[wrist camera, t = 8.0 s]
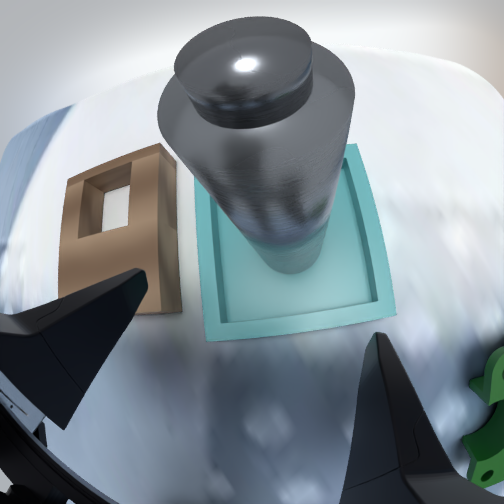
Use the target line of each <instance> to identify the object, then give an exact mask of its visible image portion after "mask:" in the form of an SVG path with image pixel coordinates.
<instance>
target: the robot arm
mask: <svg viewBox="0 0 504 504" xmlns="http://www.w3.org/2000/svg"><path fill="white" fill-rule="evenodd" d="M147 291H148V281H147V276H146V272H145V271H144V270H143V269H140V268H133V269H131V270H128V271H126V272H123V273H121V274H118V275H115V276H113V277H110V278H108V279H105V280H103V281H100V282H98V283H95V284H93V285H91V286H88V287H86V288H83V289H81V290H78V291H76V292H73V293H71V294H69V295H66V296H65V297H61V298H59V299H57V300H54V301H52V302H49V303H47V304H44V305H41V306H38V307H35V308H32V309H29V310H26V311H23V312H20V313H17V314H12V315H8V314H2V313H0V468H1V470H2V471H3V472H4V473H5V475H6V476H7V477H8V478H9V479H10V481H11V482H12V483H13V485H11V486H10V487H9V489H8V491H7V492H6V493H3V492H1V491H0V504H66V502H67V501H68V499H70V500H71V501H73V502H74V503H75V504H119V503H117V502H116V501H114V500H113V499H111V498H109V497H108V496H106V495H105V494H103V493H102V492H100V491H99V490H98V489H96V488H95V487H93V486H92V485H91V484H89V483H88V482H87V481H85V480H84V479H83V478H81V477H80V476H79V475H77V474H76V473H75V472H74V471H72V470H71V469H70V468H69V467H68V466H66V465H65V464H64V463H63V462H62V461H60V460H59V459H58V458H57V457H56V456H55V455H54V454H53V453H52V452H50V451H49V450H48V449H47V441H46V433H45V424H44V423H43V422H42V421H43V419H44V418H45V417H46V416H47V417H48V418H49V419H50V420H51V421H53V422H54V423H55V424H56V425H57V426H59V427H60V428H61V429H62V430H65V428H66V427H67V425H68V423H69V421H70V419H71V418H72V416H73V414H74V412H75V410H76V409H77V407H78V405H79V403H80V402H81V400H82V398H83V397H84V395H85V393H86V391H87V390H88V388H89V386H90V385H91V383H92V381H93V380H94V378H95V376H96V375H97V373H98V371H99V370H100V368H101V367H102V365H103V363H104V362H105V360H106V359H107V357H108V355H109V354H110V352H111V351H112V349H113V348H114V346H115V344H116V343H117V341H118V340H119V338H120V337H121V335H122V334H123V332H124V331H125V329H126V328H127V326H128V325H129V323H130V322H131V320H132V318H133V317H134V315H135V313H136V311H137V309H138V307H139V305H140V304H141V302H142V300H143V298H144V296H145V294H146V293H147ZM423 409H424V408H423V406H422V404H421V402H420V400H419V398H418V395H417V393H416V391H415V389H414V387H413V385H412V383H411V381H410V379H409V377H408V375H407V373H406V371H405V369H404V367H403V365H402V363H401V361H400V359H399V357H398V355H397V353H396V351H395V349H394V347H393V346H392V344H391V342H390V340H389V338H388V336H387V335H386V334H385V333H381V332H375V333H374V334H373V336H372V338H371V340H370V341H369V343H368V345H367V347H366V350H365V355H364V361H363V367H362V372H361V377H360V382H359V388H358V396H357V405H356V414H355V422H354V430H353V437H352V443H351V450H350V455H349V461H348V466H347V472H346V477H345V481H344V486H343V491H342V494H341V498H340V502H339V504H504V497H501V496H497V495H495V494H493V493H491V492H489V491H487V490H485V489H483V488H481V487H479V486H478V485H476V484H474V483H472V482H470V481H469V480H467V479H465V478H463V477H462V476H461V475H459V474H458V473H457V471H456V470H455V469H454V467H453V466H452V464H451V462H450V460H449V458H448V456H447V454H446V453H445V451H444V449H443V447H442V445H441V443H440V442H439V440H438V438H437V436H436V434H435V432H434V430H433V428H432V426H431V424H430V421H429V419H428V417H427V415H426V413H425V411H424V410H423Z"/></svg>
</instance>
